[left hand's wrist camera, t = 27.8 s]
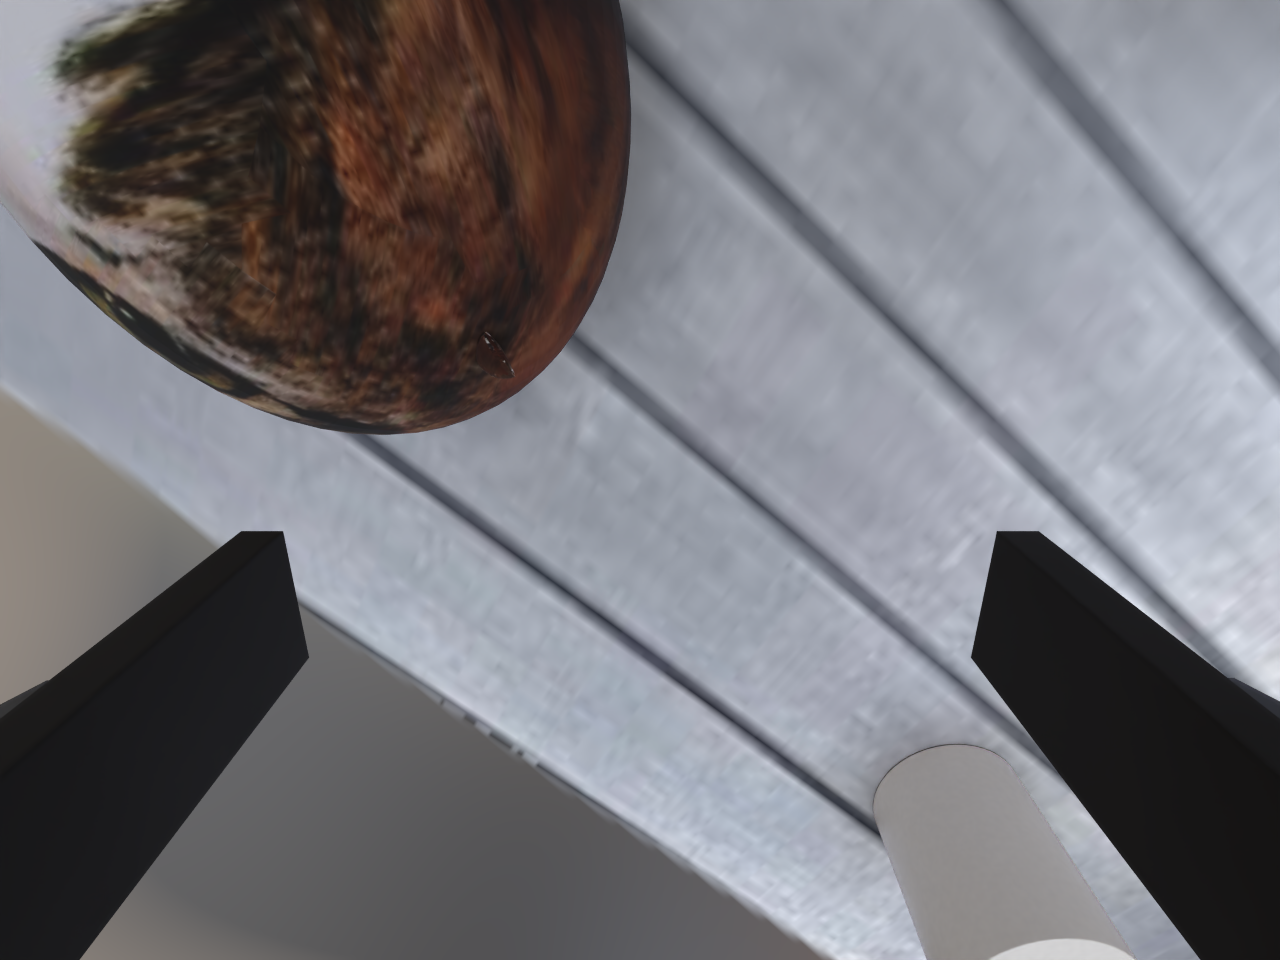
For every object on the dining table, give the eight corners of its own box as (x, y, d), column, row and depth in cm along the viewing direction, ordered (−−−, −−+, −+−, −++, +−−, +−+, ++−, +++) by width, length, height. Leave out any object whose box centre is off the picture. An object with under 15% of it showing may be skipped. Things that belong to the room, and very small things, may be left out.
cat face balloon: (-206, -178, 21) (-1276, -2008, 5) (360, -138, 30) (626, -726, 14) (156, 486, 28) (197, 616, 12) (521, 353, 37) (817, 329, 21)
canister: (907, 871, 44) (991, 1085, 33) (848, 781, 41) (918, 982, 30) (1040, 819, 42) (1174, 1027, 31) (987, 721, 39) (1114, 912, 29)
